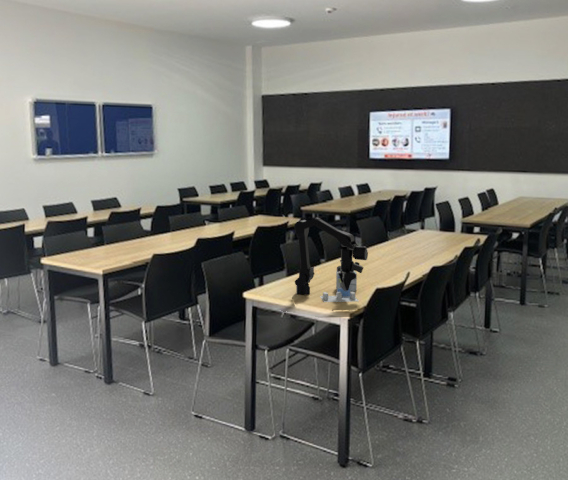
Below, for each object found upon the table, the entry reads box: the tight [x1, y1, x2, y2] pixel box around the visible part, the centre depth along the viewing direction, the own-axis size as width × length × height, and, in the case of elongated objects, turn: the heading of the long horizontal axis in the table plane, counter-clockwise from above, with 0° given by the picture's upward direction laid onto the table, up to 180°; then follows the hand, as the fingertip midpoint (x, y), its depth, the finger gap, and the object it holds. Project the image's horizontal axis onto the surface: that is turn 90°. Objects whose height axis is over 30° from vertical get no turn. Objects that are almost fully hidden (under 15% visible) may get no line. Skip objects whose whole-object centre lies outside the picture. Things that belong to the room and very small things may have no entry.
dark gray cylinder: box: [340, 282, 348, 291], centre depth 304 cm, size 6×4×4 cm, turn 7°
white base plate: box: [319, 288, 359, 303], centre depth 305 cm, size 18×12×5 cm, turn 97°
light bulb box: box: [335, 270, 358, 292], centre depth 324 cm, size 11×7×11 cm, turn 92°
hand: (345, 288), depth 305 cm, fingers closed on dark gray cylinder, 6 cm apart
